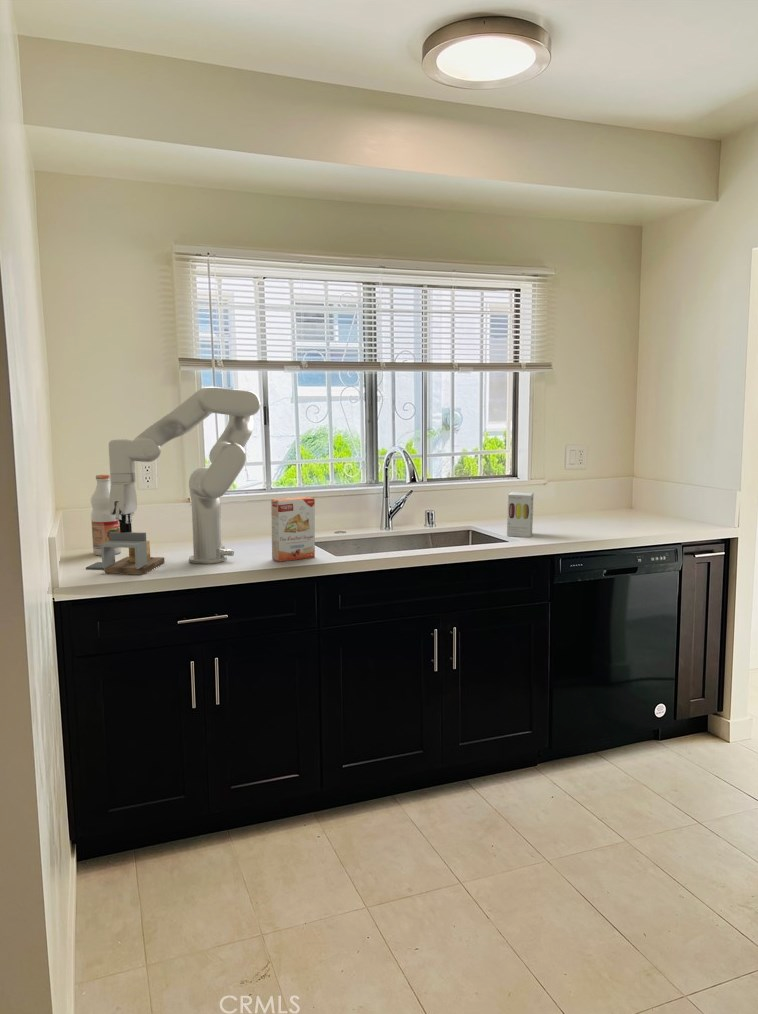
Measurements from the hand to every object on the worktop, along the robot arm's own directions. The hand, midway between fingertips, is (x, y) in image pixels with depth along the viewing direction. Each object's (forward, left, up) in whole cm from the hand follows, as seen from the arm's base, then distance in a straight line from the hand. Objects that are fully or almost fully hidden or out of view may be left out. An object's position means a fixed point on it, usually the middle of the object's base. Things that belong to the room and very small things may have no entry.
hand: (126, 535), depth 240 cm
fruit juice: (+19, -24, -11) cm, 33 cm away
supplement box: (-130, -75, -11) cm, 150 cm away
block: (-2, -6, -11) cm, 13 cm away
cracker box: (-50, -22, -11) cm, 55 cm away
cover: (-2, +5, -9) cm, 10 cm away
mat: (+10, -3, -11) cm, 15 cm away
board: (-2, -2, -11) cm, 12 cm away
